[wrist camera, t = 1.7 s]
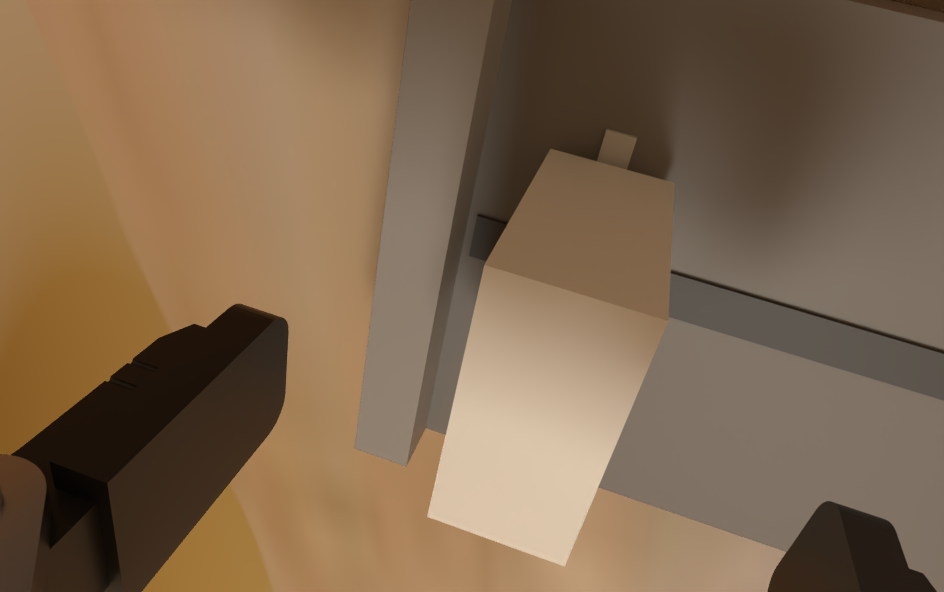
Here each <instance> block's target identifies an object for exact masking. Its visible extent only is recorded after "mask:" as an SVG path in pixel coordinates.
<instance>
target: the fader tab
mask: <svg viewBox="0 0 944 592" xmlns="http://www.w3.org/2000/svg"><path fill="white" fill-rule="evenodd" d="M674 186H675V183H673V182H669V181H666V180H662V179H659V178H655V177H651V176H648V175H644V174H641V173H637V172H633V171H630V170H626V169H623V168H619V167H615V166H612V165H608V164H605V163H601V162H597V161H594V160H590V159H587V158H583V157H579V156H576V155H572V154H568V153H565V152H561V151H558V150H554V149H550V151H549V152H548V154H547V156H546V158H545V159H544V161H543V163H542V165H541V166H540V168H539V170H538V172H537V173H536V175H535V177H534V179H533V180H532V182H531V184H530V186H529V187H528V189H527V191H526V193H525V194H524V196H523V198H522V200H521V201H520V203H519V205H518V207H517V208H516V210H515V212H514V214H513V215H512V217H511V219H510V221H509V222H508V224H507V226H506V228H505V229H504V231H503V233H502V235H501V236H500V238H499V240H498V242H497V244H496V245H495V247H494V249H493V251H492V252H491V254H490V256H489V258H488V259H487V261H486V263H485V265H484V268H483V273H482V277H481V282H480V286H479V291H478V295H477V299H476V304H475V308H474V313H473V317H472V321H471V326H470V330H469V335H468V339H467V344H466V348H465V352H464V357H463V361H462V366H461V370H460V374H459V379H458V383H457V388H456V392H455V397H454V401H453V405H452V410H451V414H450V419H449V423H448V428H447V432H446V436H445V441H444V445H443V450H442V454H441V458H440V463H439V467H438V472H437V476H436V481H435V485H434V489H433V494H432V498H431V503H430V507H429V511H428V516H427V517H429V518H432V519H435V520H438V521H441V522H443V523H446V524H449V525H452V526H454V527H457V528H460V529H463V530H465V531H468V532H471V533H474V534H476V535H479V536H482V537H485V538H487V539H490V540H493V541H496V542H498V543H501V544H504V545H507V546H509V547H512V548H515V549H518V550H520V551H523V552H526V553H529V554H531V555H534V556H537V557H540V558H542V559H545V560H548V561H551V562H553V563H556V564H559V565H562V566H565V564H566V562H567V560H568V557H569V555H570V553H571V550H572V548H573V545H574V543H575V541H576V538H577V536H578V534H579V531H580V529H581V527H582V524H583V522H584V519H585V517H586V515H587V512H588V510H589V508H590V505H591V503H592V501H593V498H594V496H595V493H596V491H597V489H598V486H599V484H600V482H601V479H602V477H603V475H604V472H605V470H606V467H607V465H608V463H609V460H610V458H611V456H612V453H613V451H614V449H615V446H616V444H617V441H618V439H619V437H620V434H621V432H622V430H623V427H624V425H625V423H626V420H627V418H628V415H629V413H630V411H631V408H632V406H633V404H634V401H635V399H636V397H637V394H638V392H639V389H640V387H641V385H642V382H643V380H644V378H645V375H646V373H647V371H648V368H649V366H650V363H651V361H652V359H653V356H654V354H655V352H656V349H657V347H658V345H659V342H660V340H661V337H662V335H663V333H664V330H665V328H666V326H667V323H668V319H669V297H670V275H671V253H672V231H673V208H674Z"/></svg>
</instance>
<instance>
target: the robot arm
mask: <svg viewBox="0 0 944 592" xmlns="http://www.w3.org/2000/svg"><path fill="white" fill-rule="evenodd" d="M287 349H288V324H287V321H286V320H285V319H284V318H282V317H279V316H276V315H273V314H270V313H267V312H264V311H261V310H258V309H255V308H252V307H249V306H246V305H243V304H235V305H233V306H231V307H230V308H229V309H227V310H226V311H225V312H224V313H223V314H222V315H220V316H219V317H218V318H217V319H216V320H214V321H213V322H212V323H211V324H210V325H209V326H207V327H206V328H205V327H202V326H199V325H196V324H193V325H190V326H188V327H185V328H183V329H180V330H178V331H175V332H173V333H170V334H168V335H165V336H163V337H160V338H158V339H157V340H156V341H155V342H153V343H152V344H151V345H150V346H148V347H147V348H146V349H145V350H143V351H142V352H141V353H140V354H138V355H137V356H136V357H134V358H133V361H132V363H131V364H129V363H127V364H126V365H125V366H123V367H122V368H121V369H119V370H118V371H117V372H116V373H115V374H113V375H112V376H111V378H110V381H109V382H106V381H104V382H103V383H102V384H100V385H99V386H98V387H97V388H96V389H94V390H93V391H92V392H91V393H89V394H88V395H87V396H85V397H84V398H83V399H82V400H80V401H79V402H78V403H77V404H75V405H74V406H73V407H72V408H70V409H69V410H68V411H67V412H65V413H64V414H63V415H62V416H60V417H59V418H58V419H57V420H55V421H54V422H53V423H51V424H50V425H49V426H48V427H46V428H45V429H44V430H43V431H41V432H40V433H39V434H38V435H36V436H35V437H34V438H33V439H31V440H30V441H29V442H28V443H26V444H25V445H24V446H23V447H21V448H20V449H19V450H17V451H16V452H14V453H13V454H11V455H7V454H0V592H142V591H143V589H144V588H145V587H146V586H147V584H148V583H149V582H150V581H151V579H152V578H153V577H154V576H155V574H156V573H157V572H158V571H159V570H160V568H161V567H162V566H163V564H164V563H165V562H166V561H167V560H168V558H169V557H170V556H171V555H172V553H173V552H174V551H175V550H176V549H177V547H178V546H179V545H180V544H181V542H182V541H183V540H184V539H185V537H186V536H187V535H188V534H189V532H190V531H191V530H192V529H193V528H194V526H195V525H196V524H197V523H198V521H199V520H200V519H201V518H202V516H203V515H204V514H205V513H206V511H207V510H208V509H209V507H210V506H211V505H212V504H213V503H214V502H215V500H216V499H217V498H218V497H219V495H220V494H221V493H222V492H223V490H224V489H225V488H226V487H227V485H228V484H229V483H230V482H231V481H232V479H233V478H234V477H235V476H236V474H237V473H238V472H239V471H240V469H241V468H242V467H243V466H244V464H245V463H246V462H247V461H248V459H249V458H250V457H251V456H252V455H253V453H254V452H255V451H256V450H257V448H258V447H259V446H260V445H261V443H262V442H263V441H264V440H265V438H266V437H267V436H268V435H269V433H270V432H271V431H272V429H273V427H274V426H275V424H276V422H277V420H278V418H279V415H280V413H281V410H282V407H283V403H284V399H285V388H286V368H287ZM768 592H937V591H936V590H935V588H934V587H933V586H932V584H931V583H930V582H929V580H928V579H927V578H926V576H925V575H924V574H923V573H921V572H918V571H915V570H912V569H909V567H908V564H907V561H906V559H905V556H904V553H903V550H902V547H901V544H900V541H899V538H898V536H897V533H896V530H895V528H894V526H893V525H892V524H891V523H890V522H889V521H888V520H886V519H883V518H880V517H877V516H874V515H871V514H868V513H865V512H862V511H859V510H856V509H853V508H850V507H847V506H844V505H841V504H838V503H835V502H832V501H826V502H824V503H822V504H821V505H820V506H819V507H818V508H817V509H816V510H815V512H814V513H813V515H812V516H811V518H810V519H809V521H808V522H807V523H806V525H805V526H804V528H803V529H802V531H801V532H800V534H799V535H798V537H797V538H796V539H795V541H794V542H793V544H792V545H791V547H790V548H789V550H788V551H787V552H786V554H785V555H784V557H783V558H782V560H781V561H780V563H779V564H778V566H777V567H776V569H775V571H774V573H773V575H772V578H771V581H770V584H769V588H768Z"/></svg>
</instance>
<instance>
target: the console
mask: <svg viewBox="0 0 944 592" xmlns="http://www.w3.org/2000/svg"><path fill="white" fill-rule="evenodd" d="M550 149H554V150H558V151H561V152H565V153H568V154H572V155H576V156H579V157H583V158H587V159H590V160H594V161H597V162H601V163H605V164H608V165H612V166H615V167H619V168H623V169H626V170H630V171H633V172H637V173H641V174H644V175H648V176H651V177H655V178H659V179H662V180H666V181H669V182H673V183H675V186H674V208H673V231H672V253H671V275H670V297H669V319H668V323H667V326H666V328H665V330H664V333H663V335H662V337H661V340H660V342H659V345H658V347H657V349H656V352H655V354H654V356H653V359H652V361H651V363H650V366H649V368H648V371H647V373H646V375H645V378H644V380H643V382H642V385H641V387H640V389H639V392H638V394H637V397H636V399H635V401H634V404H633V406H632V408H631V411H630V413H629V415H628V418H627V420H626V423H625V425H624V427H623V430H622V432H621V434H620V437H619V439H618V441H617V444H616V446H615V449H614V451H613V453H612V456H611V458H610V460H609V463H608V465H607V467H606V470H605V472H604V475H603V477H602V479H601V482H600V484H599V486H598V487H599V488H602V489H605V490H608V491H611V492H614V493H617V494H620V495H622V496H625V497H628V498H631V499H634V500H637V501H640V502H643V503H646V504H649V505H652V506H654V507H657V508H660V509H663V510H666V511H669V512H672V513H675V514H678V515H681V516H684V517H686V518H689V519H692V520H695V521H698V522H701V523H704V524H707V525H710V526H713V527H715V528H718V529H721V530H724V531H727V532H730V533H733V534H736V535H739V536H742V537H745V538H747V539H750V540H753V541H756V542H759V543H762V544H765V545H768V546H771V547H774V548H777V549H779V550H782V551H785V552H787V551H788V550H789V548H790V547H791V545H792V544H793V542H794V541H795V539H796V538H797V537H798V535H799V534H800V532H801V531H802V529H803V528H804V526H805V525H806V523H807V522H808V521H809V519H810V518H811V516H812V515H813V513H814V512H815V510H816V509H817V508H818V507H819V506H820V505H821V504H822V503H824V502H826V501H832V502H835V503H838V504H841V505H844V506H847V507H850V508H853V509H856V510H859V511H862V512H865V513H868V514H871V515H874V516H877V517H880V518H883V519H886V520H888V521H889V522H890V523H891V524H892V525H893V526H894V528H895V530H896V533H897V536H898V538H899V541H900V544H901V547H902V550H903V553H904V556H905V559H906V561H907V564H908V567H909V569H912V570H915V571H918V572H921V573H923V574H924V575H925V576H926V578H927V579H928V580H929V582H930V583H931V584H932V586H933V587H934V588H935V590H936V591H937V592H944V12H940V11H936V10H931V9H927V8H923V7H918V6H914V5H910V4H905V3H901V2H897V1H892V0H411V1H410V9H409V17H408V25H407V33H406V41H405V49H404V57H403V65H402V73H401V80H400V88H399V96H398V104H397V112H396V120H395V128H394V136H393V144H392V152H391V160H390V168H389V176H388V184H387V192H386V200H385V208H384V216H383V224H382V232H381V240H380V248H379V256H378V264H377V272H376V280H375V288H374V296H373V304H372V312H371V320H370V328H369V336H368V344H367V352H366V360H365V368H364V376H363V384H362V392H361V400H360V408H359V416H358V424H357V432H356V440H355V449H357V450H360V451H363V452H366V453H369V454H372V455H374V456H377V457H380V458H383V459H386V460H389V461H391V462H394V463H397V464H400V465H403V466H405V467H406V466H407V464H408V462H409V460H410V458H411V456H412V454H413V452H414V450H415V448H416V446H417V444H418V442H419V440H420V438H421V436H422V434H423V432H424V430H425V428H428V429H431V430H434V431H436V432H439V433H442V434H445V435H446V432H447V428H448V423H449V419H450V414H451V410H452V405H453V401H454V397H455V392H456V388H457V383H458V379H459V374H460V370H461V366H462V361H463V357H464V352H465V348H466V344H467V339H468V335H469V330H470V326H471V321H472V317H473V313H474V308H475V304H476V299H477V295H478V291H479V286H480V282H481V277H482V273H483V268H484V265H485V263H486V261H487V259H488V258H489V256H490V254H491V252H492V251H493V249H494V247H495V245H496V244H497V242H498V240H499V238H500V236H501V235H502V233H503V231H504V229H505V228H506V226H507V224H508V222H509V221H510V219H511V217H512V215H513V214H514V212H515V210H516V208H517V207H518V205H519V203H520V201H521V200H522V198H523V196H524V194H525V193H526V191H527V189H528V187H529V186H530V184H531V182H532V180H533V179H534V177H535V175H536V173H537V172H538V170H539V168H540V166H541V165H542V163H543V161H544V159H545V158H546V156H547V154H548V152H549V151H550Z"/></svg>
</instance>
